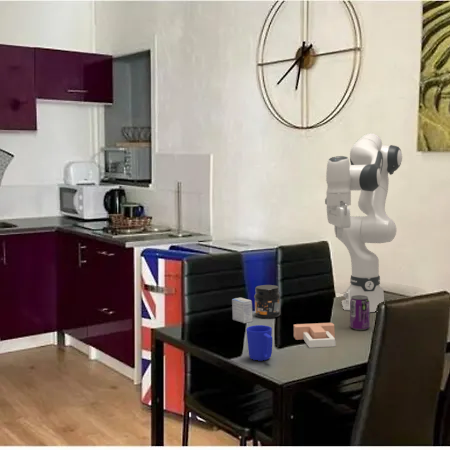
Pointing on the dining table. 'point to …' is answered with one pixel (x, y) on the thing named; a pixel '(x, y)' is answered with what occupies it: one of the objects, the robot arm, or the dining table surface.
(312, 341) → the dock
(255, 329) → the mug
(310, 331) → the t block
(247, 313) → the medicine box
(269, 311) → the supplement container
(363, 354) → the dining table surface
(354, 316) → the beverage can
